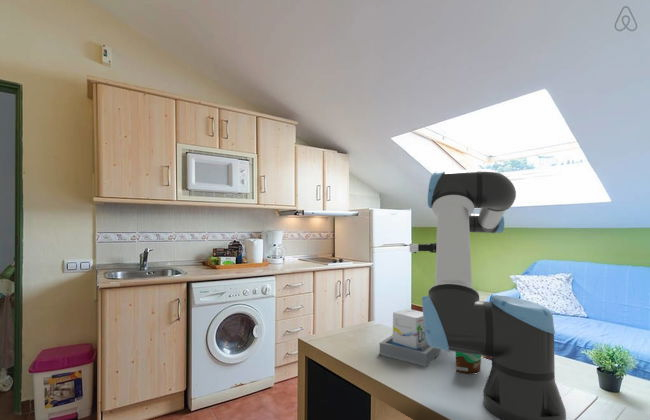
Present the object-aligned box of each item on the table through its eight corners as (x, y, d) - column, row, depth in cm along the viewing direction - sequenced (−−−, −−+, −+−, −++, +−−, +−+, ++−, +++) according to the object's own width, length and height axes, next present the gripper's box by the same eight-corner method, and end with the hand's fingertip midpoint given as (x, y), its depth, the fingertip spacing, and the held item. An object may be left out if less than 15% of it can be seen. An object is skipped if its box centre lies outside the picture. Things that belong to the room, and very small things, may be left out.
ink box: (415, 358, 96) (416, 317, 96) (391, 349, 102) (391, 312, 103) (430, 351, 102) (430, 313, 102) (406, 343, 108) (406, 308, 108)
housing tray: (426, 366, 92) (426, 354, 92) (379, 354, 100) (379, 342, 100) (440, 351, 103) (440, 340, 104) (397, 342, 112) (397, 331, 112)
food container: (479, 380, 84) (479, 340, 84) (454, 374, 87) (454, 335, 88) (489, 365, 94) (488, 330, 94) (466, 360, 97) (466, 325, 98)
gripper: (482, 259, 120) (470, 263, 103) (415, 255, 134) (395, 258, 117) (482, 239, 120) (470, 239, 103) (416, 237, 135) (395, 237, 117)
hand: (430, 249), depth 110 cm, fingers open, 13 cm apart
